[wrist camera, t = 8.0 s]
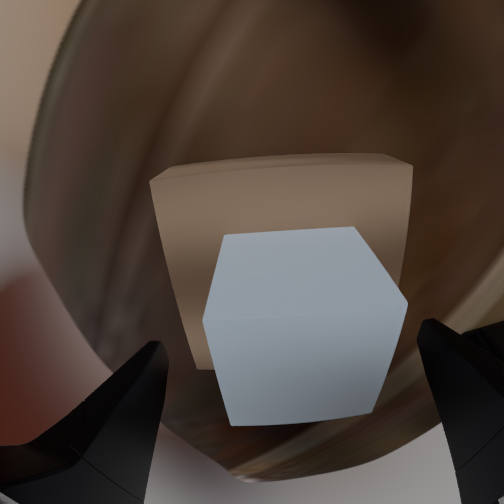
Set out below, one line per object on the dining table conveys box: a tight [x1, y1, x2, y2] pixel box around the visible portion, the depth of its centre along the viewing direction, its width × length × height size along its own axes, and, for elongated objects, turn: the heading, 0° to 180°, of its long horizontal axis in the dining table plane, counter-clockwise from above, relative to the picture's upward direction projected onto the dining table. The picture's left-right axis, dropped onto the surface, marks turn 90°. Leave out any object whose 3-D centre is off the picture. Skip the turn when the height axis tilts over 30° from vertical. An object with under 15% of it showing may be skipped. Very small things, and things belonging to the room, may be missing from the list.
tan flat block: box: [149, 153, 413, 369], centre depth 13 cm, size 10×10×3 cm
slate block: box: [202, 227, 408, 426], centre depth 10 cm, size 5×5×5 cm
